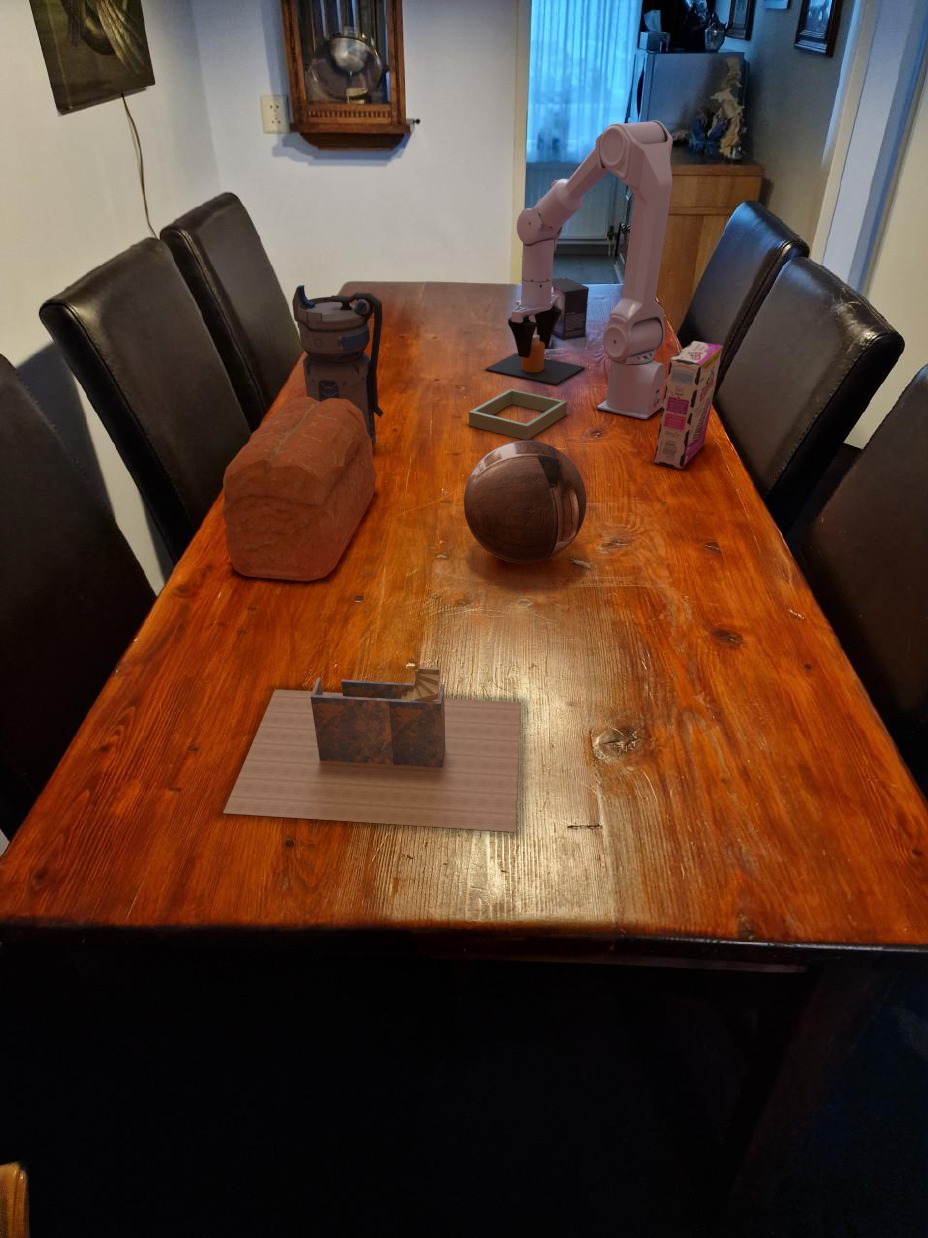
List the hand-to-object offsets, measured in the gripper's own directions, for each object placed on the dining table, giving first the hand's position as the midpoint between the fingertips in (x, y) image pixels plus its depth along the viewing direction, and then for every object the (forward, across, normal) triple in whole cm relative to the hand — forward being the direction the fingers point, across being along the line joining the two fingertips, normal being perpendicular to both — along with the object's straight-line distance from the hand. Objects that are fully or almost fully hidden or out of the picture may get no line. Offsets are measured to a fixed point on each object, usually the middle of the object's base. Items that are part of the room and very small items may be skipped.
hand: (533, 351), depth 161 cm
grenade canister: (+4, +50, -5) cm, 50 cm away
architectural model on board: (+4, +101, +42) cm, 110 cm away
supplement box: (+4, -16, -8) cm, 18 cm away
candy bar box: (+4, +22, +40) cm, 46 cm away
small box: (+4, -27, -8) cm, 28 cm away
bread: (+4, +73, +7) cm, 73 cm away
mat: (+4, -1, 0) cm, 4 cm away
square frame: (+4, +24, +11) cm, 27 cm away
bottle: (+3, 0, 0) cm, 4 cm away
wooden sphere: (+4, +63, +35) cm, 72 cm away
